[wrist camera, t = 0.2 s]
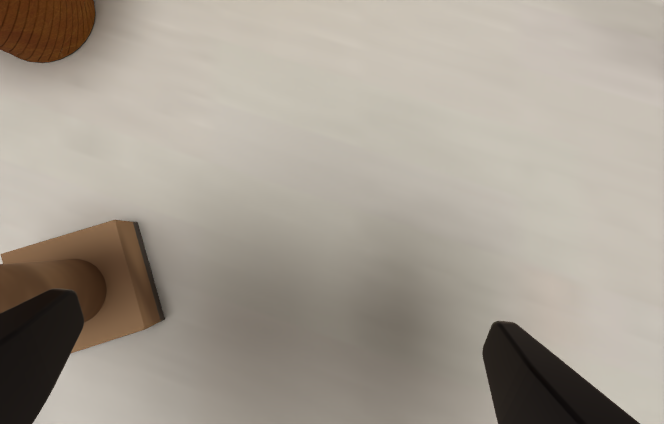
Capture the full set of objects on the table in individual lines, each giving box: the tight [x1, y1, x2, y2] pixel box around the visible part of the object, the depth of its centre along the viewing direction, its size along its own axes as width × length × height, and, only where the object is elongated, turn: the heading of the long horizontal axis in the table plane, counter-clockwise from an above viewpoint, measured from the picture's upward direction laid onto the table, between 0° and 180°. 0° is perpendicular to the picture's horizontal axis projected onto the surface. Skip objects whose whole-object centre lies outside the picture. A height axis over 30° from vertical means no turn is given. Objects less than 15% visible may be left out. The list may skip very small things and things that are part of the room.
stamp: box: [0, 220, 165, 353], centre depth 15 cm, size 6×6×14 cm
